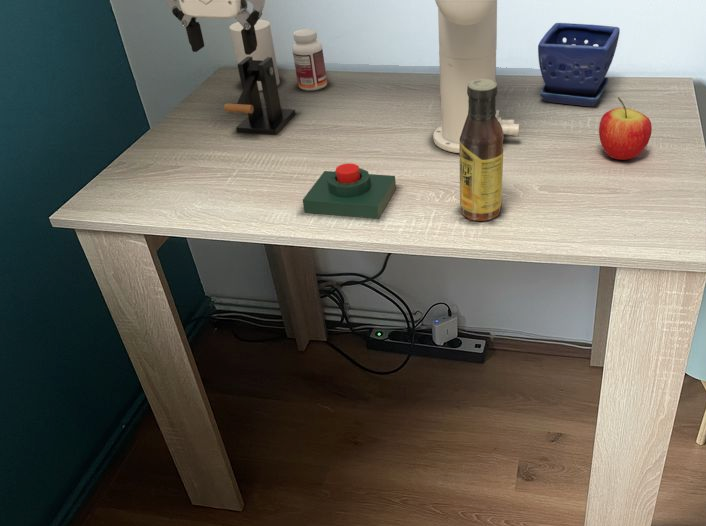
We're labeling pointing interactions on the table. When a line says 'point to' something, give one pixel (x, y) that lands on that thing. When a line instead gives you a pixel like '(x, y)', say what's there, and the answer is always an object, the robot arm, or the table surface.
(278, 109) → the bracket
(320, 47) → the pill bottle
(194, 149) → the table surface
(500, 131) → the sauce bottle
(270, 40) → the cup
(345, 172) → the button
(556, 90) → the flower pot
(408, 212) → the table surface
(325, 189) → the control block
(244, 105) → the lever
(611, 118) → the apple
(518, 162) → the table surface
